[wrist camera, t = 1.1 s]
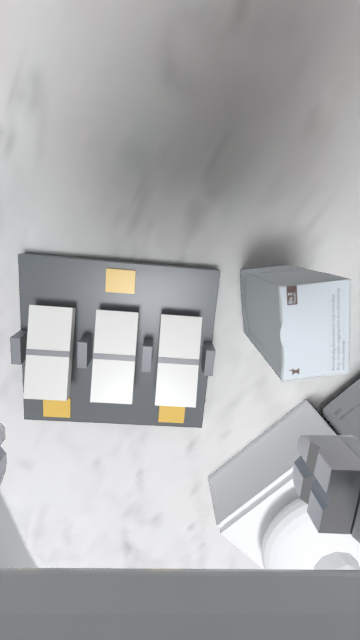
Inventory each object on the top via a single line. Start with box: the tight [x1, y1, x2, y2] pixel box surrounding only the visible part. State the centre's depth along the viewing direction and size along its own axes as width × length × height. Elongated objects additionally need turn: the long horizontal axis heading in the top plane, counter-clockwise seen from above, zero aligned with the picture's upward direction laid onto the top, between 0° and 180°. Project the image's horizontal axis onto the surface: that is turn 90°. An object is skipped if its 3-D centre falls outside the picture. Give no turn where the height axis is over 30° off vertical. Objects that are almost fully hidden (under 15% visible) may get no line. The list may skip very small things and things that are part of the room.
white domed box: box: [208, 399, 360, 570], centre depth 40 cm, size 18×18×16 cm
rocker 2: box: [90, 310, 139, 404], centre depth 37 cm, size 10×4×2 cm, turn 175°
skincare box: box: [240, 265, 351, 382], centre depth 33 cm, size 8×6×15 cm
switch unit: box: [10, 253, 220, 428], centre depth 39 cm, size 20×22×5 cm
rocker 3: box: [155, 314, 202, 408], centre depth 37 cm, size 10×4×2 cm, turn 175°
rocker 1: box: [23, 305, 76, 401], centre depth 36 cm, size 10×4×2 cm, turn 175°
